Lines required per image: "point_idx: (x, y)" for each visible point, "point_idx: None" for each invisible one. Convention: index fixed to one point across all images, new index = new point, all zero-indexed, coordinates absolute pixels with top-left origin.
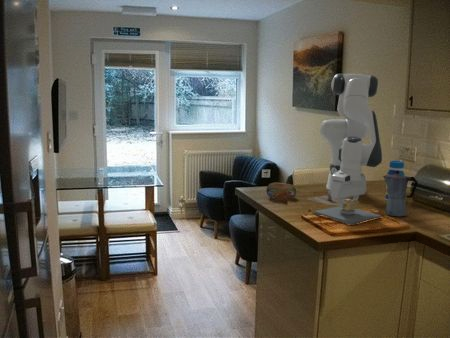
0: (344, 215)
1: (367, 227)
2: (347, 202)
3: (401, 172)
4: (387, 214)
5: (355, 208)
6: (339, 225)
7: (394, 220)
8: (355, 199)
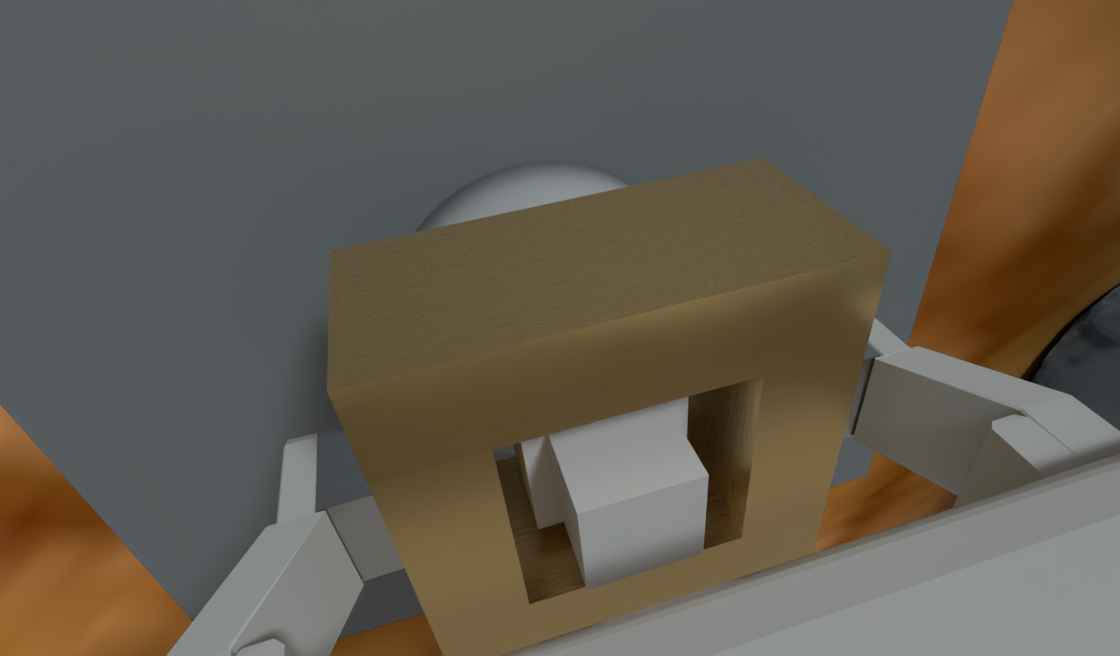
0: None
1: (417, 649)
2: (480, 613)
3: None
4: (1054, 354)
5: None
6: (56, 597)
7: (886, 500)
8: (912, 444)
